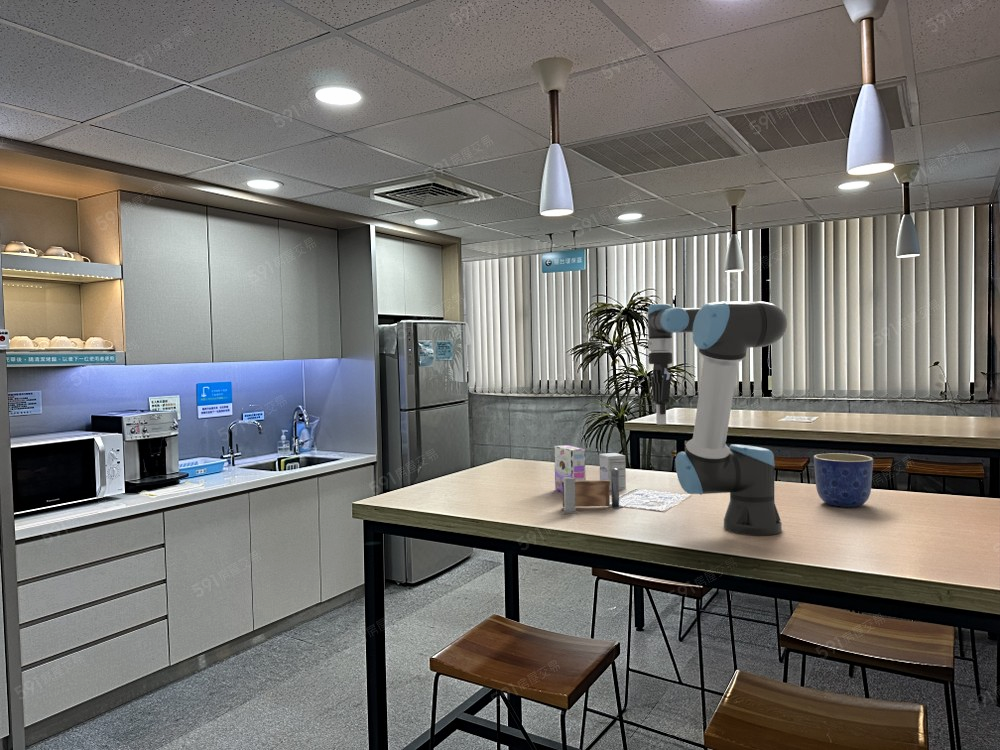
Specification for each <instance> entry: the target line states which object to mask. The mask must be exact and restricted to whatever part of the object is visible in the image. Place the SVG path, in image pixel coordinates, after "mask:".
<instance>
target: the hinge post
mask: <svg viewBox="0 0 1000 750" xmlns="http://www.w3.org/2000/svg"><path fill="white" fill-rule="evenodd" d="M611 489H612V490H611V504H610V506H608V507H609V508H610V509H613V510H614V509H623V508H624V507H623V506H622V505H621V504H620V490H619V470H618V469H616V468H614V469H612V470H611Z"/></svg>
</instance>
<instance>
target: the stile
mask: <svg viewBox="0 0 1000 750" xmlns="http://www.w3.org/2000/svg"><path fill="white" fill-rule="evenodd" d="M563 480H564V507H563V509H561V512H562V513H563V514H565V515H570V514H571V515H572V514H579V511H578V510H577V508H576V507H575V481H576V478H574V477H563Z"/></svg>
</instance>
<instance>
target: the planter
mask: <svg viewBox="0 0 1000 750" xmlns="http://www.w3.org/2000/svg"><path fill="white" fill-rule="evenodd" d="M813 465H814V477H815V488H816V491H817V492H816V493H817V494H818V497H819V498H820V499H821V501H823V502H824V503H826V504H827V505H830V506H833V505H834V506H833V507H838V506H841V507H840V508H857V507H860V506H863V505H864V504H866V502H868V500H869V498H870V496H871V492H872V480H873V471H874V470H873V468H874V457H871V456H868V455H863V454H855V453H839V452H838V453H835V452H832V453H820V454H819V453H818V454H815V455H813ZM856 506H857V507H856Z"/></svg>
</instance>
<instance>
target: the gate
mask: <svg viewBox="0 0 1000 750" xmlns="http://www.w3.org/2000/svg"><path fill="white" fill-rule="evenodd" d="M609 485H610V481H609V480H600V479H595V480H594V479H593V480H591V479H590V480H586V481H575V508H577V507H578V508H579V507H580V508H581V507H582V508H583V507H587V508H588V507H609V506H610V505H611V504H610V503H611V501H610V500H611V499H610V494H611V493H610V491H609ZM562 489H563V492H562V507H563V508H564V481H562Z"/></svg>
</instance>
